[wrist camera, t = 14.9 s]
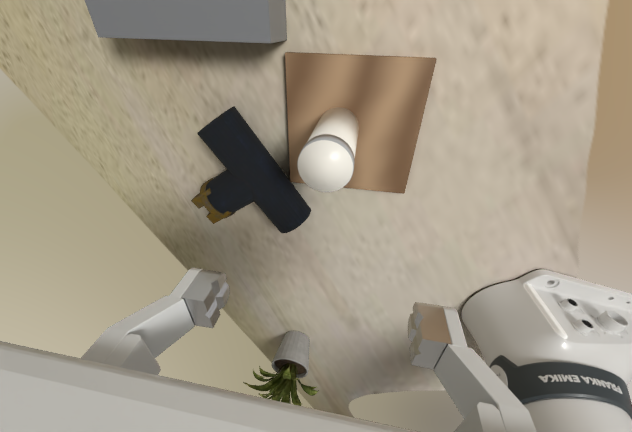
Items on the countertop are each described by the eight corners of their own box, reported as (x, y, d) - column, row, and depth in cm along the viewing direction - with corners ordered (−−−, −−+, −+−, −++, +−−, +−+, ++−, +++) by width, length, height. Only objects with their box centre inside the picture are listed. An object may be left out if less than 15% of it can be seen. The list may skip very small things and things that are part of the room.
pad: (434, 58, 25) (436, 58, 25) (403, 190, 33) (404, 193, 33) (287, 52, 27) (285, 52, 26) (291, 178, 35) (290, 181, 34)
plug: (361, 107, 28) (356, 142, 20) (357, 149, 31) (351, 195, 23) (318, 105, 29) (296, 137, 21) (317, 146, 31) (297, 190, 23)
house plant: (330, 316, 50) (314, 420, 37) (341, 357, 58) (332, 455, 45) (259, 314, 54) (222, 408, 41) (279, 353, 61) (253, 443, 48)
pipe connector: (239, 255, 38) (153, 167, 32) (252, 231, 42) (179, 150, 36) (306, 224, 33) (220, 113, 27) (313, 201, 37) (241, 101, 31)
